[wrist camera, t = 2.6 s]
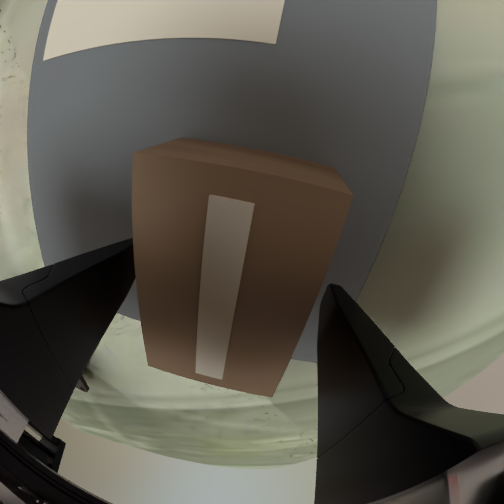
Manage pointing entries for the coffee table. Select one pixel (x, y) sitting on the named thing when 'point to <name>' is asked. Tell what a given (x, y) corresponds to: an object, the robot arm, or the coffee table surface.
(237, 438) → the coffee table surface
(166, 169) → the brown cardboard box
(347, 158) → the rubber mat
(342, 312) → the robot arm
